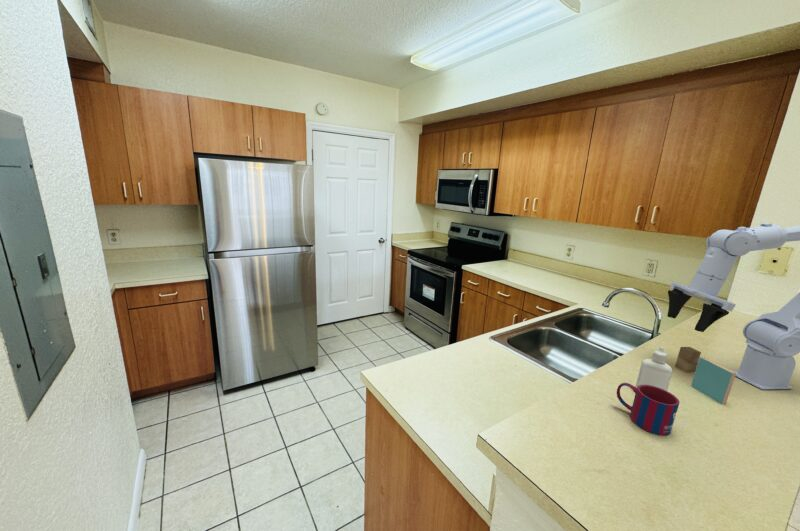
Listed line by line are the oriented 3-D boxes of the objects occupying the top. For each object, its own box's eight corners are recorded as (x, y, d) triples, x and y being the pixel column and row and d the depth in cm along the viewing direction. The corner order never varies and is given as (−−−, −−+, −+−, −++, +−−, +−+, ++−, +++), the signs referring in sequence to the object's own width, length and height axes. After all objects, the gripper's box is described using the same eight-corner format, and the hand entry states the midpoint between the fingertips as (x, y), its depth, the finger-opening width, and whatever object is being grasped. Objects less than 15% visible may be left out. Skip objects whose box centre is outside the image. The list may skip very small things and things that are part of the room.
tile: (695, 386, 81) (704, 357, 79) (725, 404, 74) (736, 373, 72) (690, 386, 81) (699, 357, 79) (721, 404, 74) (731, 373, 72)
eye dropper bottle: (657, 402, 73) (671, 354, 70) (631, 388, 78) (643, 343, 75) (667, 398, 75) (681, 351, 72) (641, 385, 80) (653, 340, 77)
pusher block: (684, 366, 91) (690, 346, 89) (695, 372, 88) (701, 352, 86) (674, 366, 90) (680, 346, 89) (685, 372, 87) (691, 352, 86)
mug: (661, 440, 61) (670, 409, 60) (607, 409, 70) (613, 381, 68) (676, 429, 65) (685, 399, 63) (622, 400, 73) (629, 373, 72)
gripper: (671, 264, 88) (648, 309, 91) (729, 282, 74) (700, 334, 77) (691, 270, 89) (668, 313, 92) (752, 289, 75) (722, 339, 79)
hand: (684, 323), depth 85 cm, fingers open, 7 cm apart
